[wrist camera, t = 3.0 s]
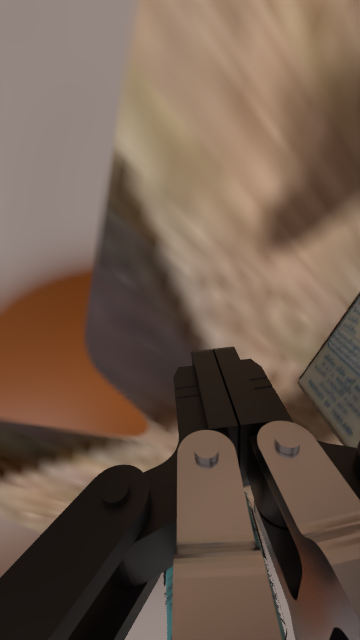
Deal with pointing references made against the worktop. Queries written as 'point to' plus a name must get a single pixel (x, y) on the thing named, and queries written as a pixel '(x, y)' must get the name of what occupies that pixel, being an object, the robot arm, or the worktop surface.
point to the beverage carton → (338, 379)
